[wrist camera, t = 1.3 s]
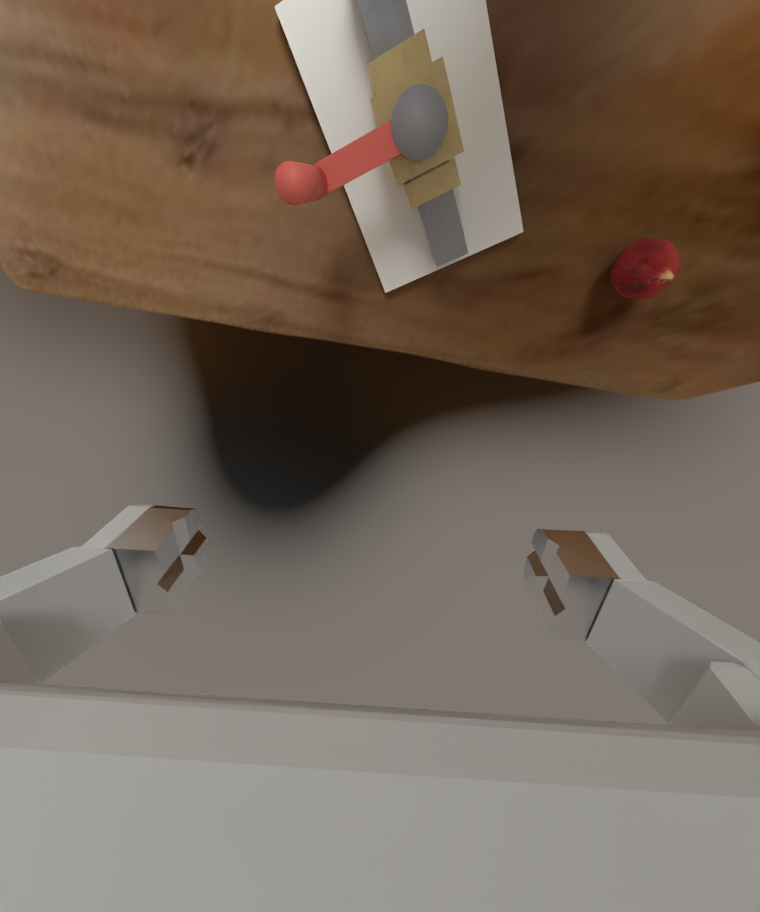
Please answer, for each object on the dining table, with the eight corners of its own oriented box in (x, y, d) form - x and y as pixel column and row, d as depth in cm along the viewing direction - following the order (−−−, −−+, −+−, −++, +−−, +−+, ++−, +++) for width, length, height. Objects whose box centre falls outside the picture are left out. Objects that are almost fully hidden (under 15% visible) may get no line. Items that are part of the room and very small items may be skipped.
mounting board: (278, 12, 31) (274, 6, 30) (461, -120, 27) (464, -131, 26) (385, 290, 44) (385, 293, 43) (520, 230, 40) (523, 231, 39)
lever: (436, 75, 28) (451, 36, 20) (452, 144, 30) (471, 132, 23) (291, 160, 31) (258, 153, 24) (316, 216, 34) (294, 227, 26)
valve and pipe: (335, -8, 30) (321, -52, 25) (403, -55, 29) (405, -114, 23) (422, 264, 42) (426, 277, 37) (473, 241, 41) (486, 251, 35)
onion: (605, 300, 44) (641, 320, 38) (592, 255, 41) (628, 268, 35) (658, 270, 42) (706, 287, 36) (648, 221, 39) (698, 229, 33)
